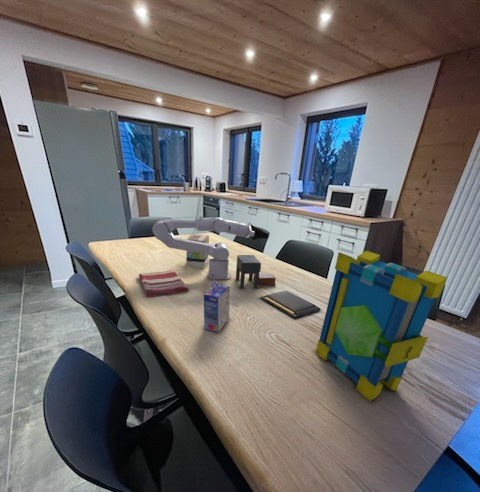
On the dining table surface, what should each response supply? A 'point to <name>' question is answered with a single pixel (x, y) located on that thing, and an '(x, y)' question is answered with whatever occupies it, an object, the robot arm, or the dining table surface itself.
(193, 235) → the tea box
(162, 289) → the dish towel
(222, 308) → the ink cartridge box
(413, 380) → the dining table surface
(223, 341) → the dining table surface
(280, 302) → the wallet
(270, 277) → the storage box
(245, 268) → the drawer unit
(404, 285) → the decorative book
